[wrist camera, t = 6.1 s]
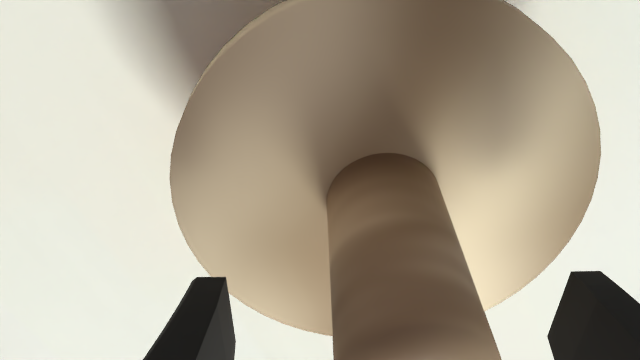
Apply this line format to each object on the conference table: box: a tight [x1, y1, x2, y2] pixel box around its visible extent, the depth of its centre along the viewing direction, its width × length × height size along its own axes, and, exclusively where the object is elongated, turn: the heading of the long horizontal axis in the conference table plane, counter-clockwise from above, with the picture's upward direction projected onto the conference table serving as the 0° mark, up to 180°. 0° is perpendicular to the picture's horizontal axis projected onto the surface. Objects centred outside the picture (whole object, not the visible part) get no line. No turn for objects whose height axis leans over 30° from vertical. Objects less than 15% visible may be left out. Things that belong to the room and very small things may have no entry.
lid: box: [170, 0, 601, 360], centre depth 11 cm, size 10×10×6 cm
